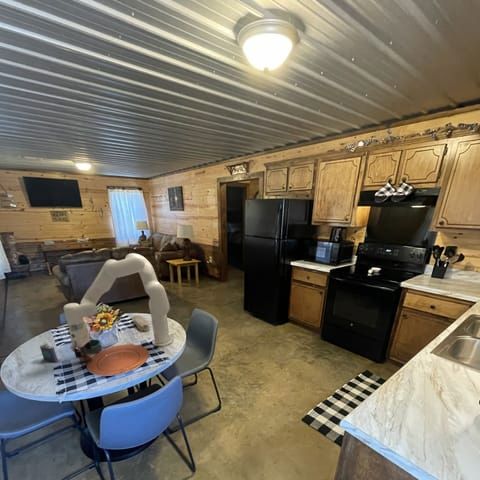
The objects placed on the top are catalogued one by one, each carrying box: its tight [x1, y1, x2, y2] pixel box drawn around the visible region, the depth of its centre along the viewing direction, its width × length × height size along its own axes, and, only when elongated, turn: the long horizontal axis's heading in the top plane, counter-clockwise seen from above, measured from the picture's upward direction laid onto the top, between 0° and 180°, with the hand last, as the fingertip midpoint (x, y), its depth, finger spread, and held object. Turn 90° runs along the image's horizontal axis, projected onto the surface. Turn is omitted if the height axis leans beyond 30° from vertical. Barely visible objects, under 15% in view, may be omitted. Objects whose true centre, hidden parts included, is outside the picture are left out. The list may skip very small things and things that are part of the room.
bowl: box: [84, 339, 103, 355], centre depth 163 cm, size 12×12×4 cm
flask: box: [39, 343, 58, 363], centre depth 151 cm, size 9×3×11 cm, turn 74°
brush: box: [78, 346, 92, 365], centre depth 150 cm, size 6×6×10 cm
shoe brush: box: [131, 315, 150, 332], centre depth 197 cm, size 24×8×5 cm, turn 37°
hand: (84, 352), depth 150 cm, fingers open, 9 cm apart
